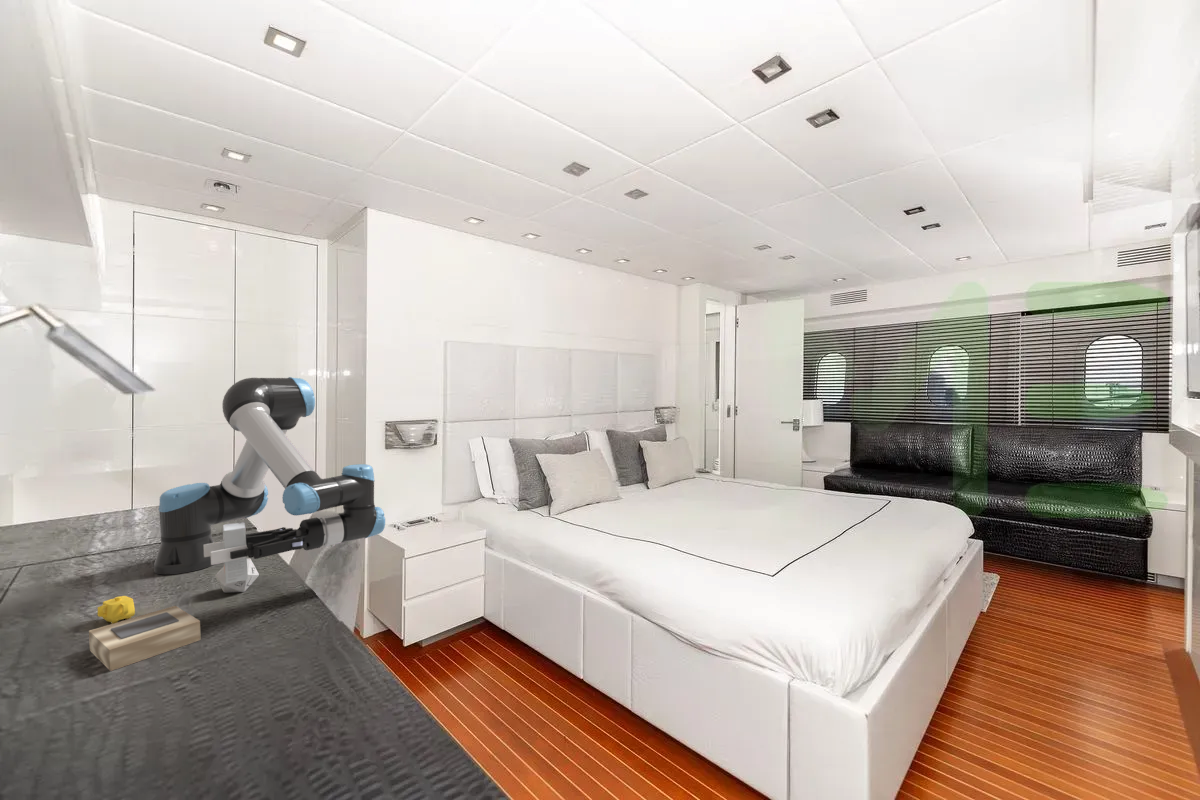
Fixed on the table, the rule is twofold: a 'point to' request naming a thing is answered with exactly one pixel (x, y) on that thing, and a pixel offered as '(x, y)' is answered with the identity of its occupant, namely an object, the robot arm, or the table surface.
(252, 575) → the die
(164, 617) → the plinth
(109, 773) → the table surface
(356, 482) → the robot arm
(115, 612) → the teapot
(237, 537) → the skincare box
